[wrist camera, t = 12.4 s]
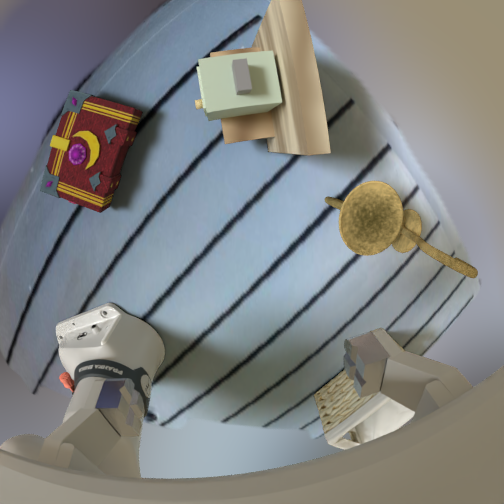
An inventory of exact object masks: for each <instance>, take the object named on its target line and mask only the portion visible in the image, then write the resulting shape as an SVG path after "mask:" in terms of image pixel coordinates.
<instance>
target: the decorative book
mask: <svg viewBox="0 0 504 504" xmlns="http://www.w3.org/2000/svg"><path fill="white" fill-rule="evenodd" d="M142 113H143V112H142V111H140V110H137V109H135V108H132V107H128V106H125V105H122V104H118V103H115V102H111V101H107V100H104V99H101V98H97V97H93V95H89V94H85V93H81V92H77V91H73V90H70V92H69V95H68V98H67V100H66V103H65V106H64V108H63V111H62V114H61V116H62V118H61V121H60V124H59V127H58V130H57V133H56V135H53V137H52V141H51V144H50V146H52V149H51V153H50V157H49V161H48V164H47V165H46V167H45V171H44V175H43V180H42V184H41V189H40V191H42V192H44V193H47V194H50V195H52V196H55V197H57V198H60V197H61V198H64V199H66V200H69V202H71V203H73V204H79V205H82V206H84V207H87V208H89V209H92V210H94V211H97V212H100V213H101V212H102V211H104V210H105V209H107V208H109V207H110V204H111V200H112V197H113V193H114V190H115V189H117V188H118V185H119V181H120V178H121V175H120V171H121V168H122V165H123V162H124V159H125V157H126V154H127V151H128V148H129V146H132V144H133V141H134V139H135V136H136V134H137V132H135V130H136V128H137V125H138V123H139V120H140V118H141V115H142Z"/></svg>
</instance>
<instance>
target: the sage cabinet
mask: <svg viewBox="0 0 504 504" xmlns="http://www.w3.org/2000/svg"><path fill="white" fill-rule="evenodd" d="M198 61H199V67H197V72H198V78H199V85H200V91H201V97H202V99H199V100H195V104H196V109H201V108H203V109H204V112H205V116H208V120H209V121H212V120H217V119H223V118H229V117H236V116H242V115H250V114H257V113H265V112H268V111H270V110H271V109H273V108H274V107H276V106H277V105H279V104H281V103H282V98H281V92H280V86H279V81H278V75H277V70H276V64H275V59H274V54H273V51H260V52H248V53H239V54H231V55H223V56H216V57H210V58H204V59H199V60H198Z"/></svg>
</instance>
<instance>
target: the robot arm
mask: <svg viewBox="0 0 504 504" xmlns="http://www.w3.org/2000/svg"><path fill="white" fill-rule="evenodd" d="M104 311H106V312H107V313H105V312H104ZM56 335H57V339H58V342H59V344H60V345H59V356H60V359H61V362H62V364H63V366H64V368H65V369H66V371H67V372H64V373H63V374H61V376H60V377H59V379H60V381H61V382H62V383H63V384H64V386H65V387H66V388H70V389H71V391H72V394H73V396H72V399H71V401H70V404H69V406H68V409H67V411H66V414H65V416H64V419H63V424H62V425H61V426H59V427H58V428H57V429H56V430H55V431H54V432H53V433H52V434H50V435H49V436H48V437H47V438H42V437H40V436H38V435H34V434H24V435H18V436H15V437H12V438H10V439H8V440H7V441H5V442H4V443H3V444H2V445H1V446H0V504H504V366H502V367H501V368H500V369H499V370H497V371H496V372H495V373H493V374H492V375H491V376H489V377H488V378H486V379H485V380H483V381H482V382H481V383H479V384H478V385H476V386H475V387H473V386H471V384H470V383H469V382H468V381H467V380H466V378H465V377H464V376H463V375H462V374H461V373H460V372H459V371H458V369H457V368H455V367H451V366H449V365H446V364H443V363H440V362H437V361H434V360H431V359H428V358H425V357H422V356H419V355H416V354H414V353H411V352H408V351H405V352H403V351H402V350H401V349H400V348H399V347H398V345H397V344H396V343H395V342H394V341H393V339H392V338H391V337H390V336H389V335H388V334H387V332H386V331H385V330H384V329H383V328H379V329H376V330H373V331H370V332H367V333H364V334H361V335H358V336H355V337H351V338H348V339H346V340H345V343H344V348H345V349H346V351H347V352H346V354H345V355H344V367H345V371H346V373H347V375H348V377H349V379H352V380H354V385H353V387H354V388H355V390H356V392H357V394H358V396H359V397H360V398H363V397H366V396H369V395H372V394H374V393H377V392H380V393H382V394H384V395H385V396H387V397H389V398H391V399H392V400H394V401H396V402H398V403H399V404H401V405H403V406H405V407H406V408H408V409H410V410H412V411H414V412H415V414H414V416H413V419H412V421H411V423H410V424H408V425H406V426H404V427H402V428H399V429H397V430H395V431H393V432H390V433H388V434H386V435H383V436H381V437H378V438H376V439H373V440H371V441H368V442H366V443H363V444H360V445H357V446H355V447H352V448H349V449H346V450H343V451H340V452H337V453H334V454H330V455H327V456H324V457H320V458H316V459H313V460H309V461H305V462H301V463H297V464H293V465H289V466H284V467H279V468H274V469H268V470H263V471H257V472H251V473H245V474H237V475H228V476H218V477H206V478H182V479H156V478H141V475H140V467H139V446H140V439H141V431H142V425H143V418H144V417H145V416H146V414H147V411H148V406H149V401H150V396H151V387H152V381H153V378H154V376H155V373H156V371H157V370H158V368H159V366H160V365H161V364H162V362H163V360H164V357H165V347H164V344H163V341H162V339H161V338H160V336H159V335H158V333H157V332H156V331H155V330H154V329H153V328H152V327H151V326H150V325H148V324H147V323H145V322H144V321H142V320H140V319H138V318H136V317H133V316H131V315H128V314H126V313H125V312H123V311H122V310H121V309H120V308H119V307H117V306H116V305H114V304H112V303H107V304H104V305H102V306H99V307H97V308H94V309H92V310H89V311H86V312H84V313H81V314H79V315H76V316H74V317H71V318H69V319H66V320H64V321H61V322H59V323H58V324H57V326H56Z"/></svg>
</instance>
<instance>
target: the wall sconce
mask: <svg viewBox="0 0 504 504" xmlns="http://www.w3.org/2000/svg"><path fill="white" fill-rule="evenodd" d="M325 202H326V203H327V204H329V205H331V206H333V207H335V208H337V209H339V210H340V215H339V230H340V234H341V237H342V239H343V241H344V243H345V244H346V245H347V247H348V248H349V249H351V250H352V251H353V252H355V253H357V254H360V255H374V254H377V253H380V252H382V251H383V250H385V249H386V248H388V247H389V246H390V245H391V244H392V246H393V247H394V249H395V250H396V251H398V252H401V253H405V252H408V251H410V250H411V249H412V248H413V247H414V246H415V245H416V244H417V245H418V246H419V248H420V249H421V250H422V251H423V252H425V253H426V254H427V255H429V256H431V257H432V258H434V259H436V260H437V261H439V262H441V263H442V264H444V265H446V266H448V267H450V268H452V269H453V270H455V271H457V272H459V273H461V274H463V275H466V276H468V277H470V278H475V277H476V276H477V275H478V271H477V269H476V268H474V267H473V266H471V265H469V264H468V263H466V262H464V261H462V260H460V259H458V258H453V257H451V256H449V255H447V254H445V253H443V252H442V251H440V250H438V249H436V248H434V247H433V246H431V245H429V244H428V243H426V242H425V241H424V240H423V239H422V238H421V237H420V234H421V229H422V223H421V218H420V216H419V214H418V213H417V212H416V211H414V210H411V209H407V210H404V211H403V207H402V203H401V200H400V198H399V196H398V194H397V192H396V191H395V190H394V189H393V188H392V187H391V186H390V185H388V184H386V183H384V182H380V181H369V182H365V183H363V184H360V185H359V186H357V187H356V188H354V189H353V190H352V191H351V192H350V193H349V195H348V196H347V197H346V199H345V201H341V200H338V199H335V198H332V197H326V198H325Z"/></svg>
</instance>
